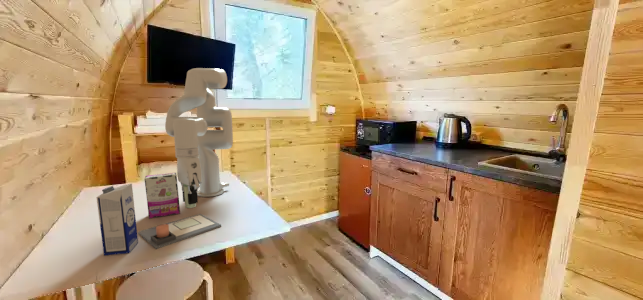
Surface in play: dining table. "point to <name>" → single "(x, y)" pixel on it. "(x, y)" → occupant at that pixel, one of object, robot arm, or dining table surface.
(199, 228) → the drawing board
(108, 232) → the milk carton
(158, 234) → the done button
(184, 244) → the dining table surface
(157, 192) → the candy bar box
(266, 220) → the dining table surface
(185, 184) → the green cylinder
